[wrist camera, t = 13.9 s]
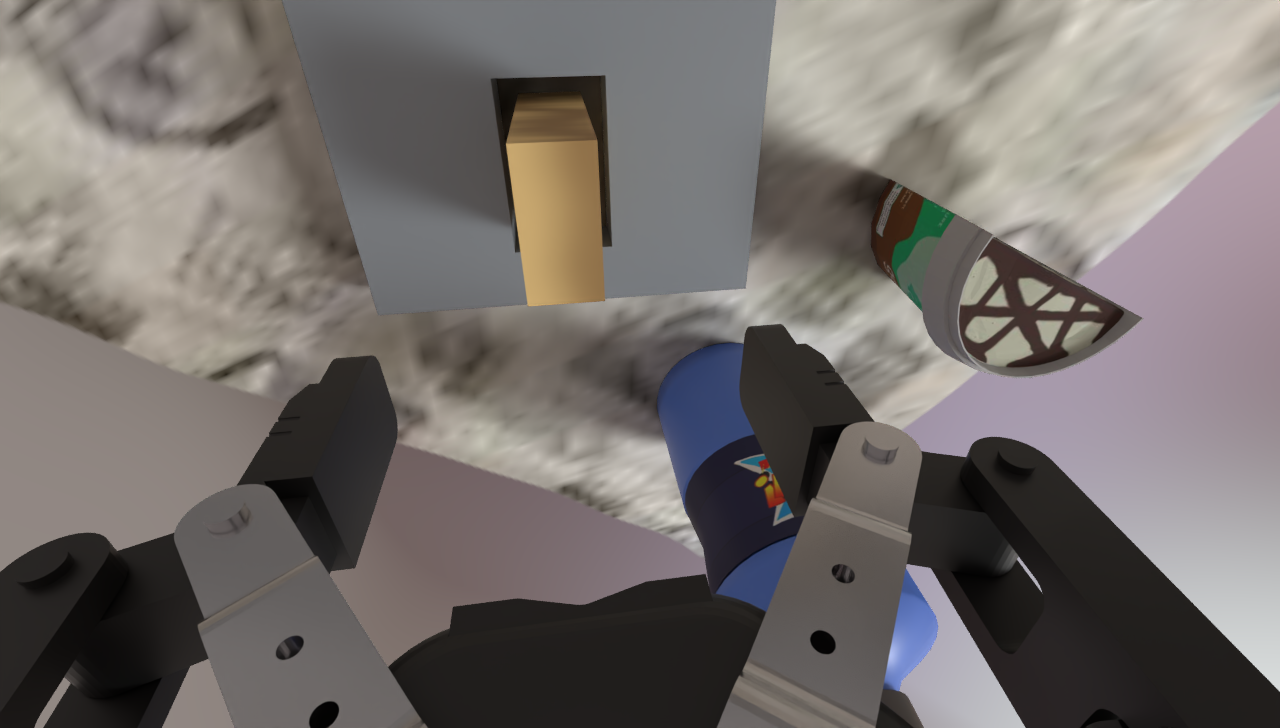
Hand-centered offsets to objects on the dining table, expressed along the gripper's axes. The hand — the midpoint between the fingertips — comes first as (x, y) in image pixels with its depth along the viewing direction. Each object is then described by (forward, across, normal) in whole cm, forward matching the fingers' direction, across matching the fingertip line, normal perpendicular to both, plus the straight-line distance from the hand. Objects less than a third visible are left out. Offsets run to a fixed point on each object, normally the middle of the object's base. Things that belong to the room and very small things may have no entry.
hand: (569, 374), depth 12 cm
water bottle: (+20, -10, +17) cm, 28 cm away
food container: (+20, -22, +7) cm, 31 cm away
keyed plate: (+20, 0, 0) cm, 20 cm away
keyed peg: (+20, 0, 0) cm, 20 cm away
